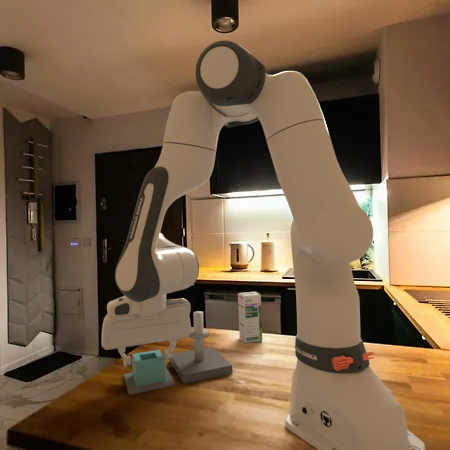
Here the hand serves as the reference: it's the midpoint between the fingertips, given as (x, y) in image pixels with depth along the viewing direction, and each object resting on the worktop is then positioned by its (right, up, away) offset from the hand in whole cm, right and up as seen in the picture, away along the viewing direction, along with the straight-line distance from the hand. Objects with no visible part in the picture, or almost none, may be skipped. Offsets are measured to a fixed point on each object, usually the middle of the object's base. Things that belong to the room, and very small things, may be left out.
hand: (148, 361), depth 77 cm
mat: (0, -4, 0) cm, 4 cm away
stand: (+11, -4, +7) cm, 14 cm away
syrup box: (+26, -4, +27) cm, 37 cm away
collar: (0, -4, 0) cm, 4 cm away
